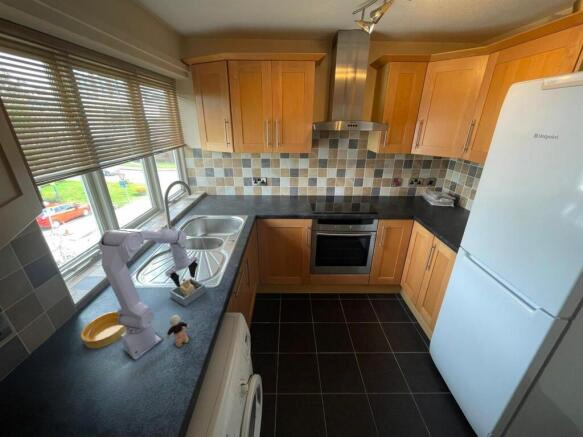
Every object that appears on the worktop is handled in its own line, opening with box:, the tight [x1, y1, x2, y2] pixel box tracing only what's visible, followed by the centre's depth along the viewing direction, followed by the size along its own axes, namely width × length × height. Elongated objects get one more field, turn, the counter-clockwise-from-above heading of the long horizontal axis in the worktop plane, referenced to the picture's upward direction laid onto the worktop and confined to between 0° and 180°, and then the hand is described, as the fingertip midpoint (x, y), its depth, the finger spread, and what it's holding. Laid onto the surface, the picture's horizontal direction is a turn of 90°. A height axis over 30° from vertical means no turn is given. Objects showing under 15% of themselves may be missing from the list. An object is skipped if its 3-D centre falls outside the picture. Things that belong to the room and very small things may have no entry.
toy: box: [180, 278, 195, 297], centre depth 109 cm, size 4×5×8 cm
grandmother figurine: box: [166, 314, 190, 348], centre depth 84 cm, size 8×4×13 cm, turn 141°
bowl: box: [80, 310, 127, 349], centre depth 90 cm, size 14×14×4 cm
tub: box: [169, 277, 207, 307], centre depth 110 cm, size 11×10×4 cm
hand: (185, 281), depth 108 cm, fingers open, 7 cm apart
